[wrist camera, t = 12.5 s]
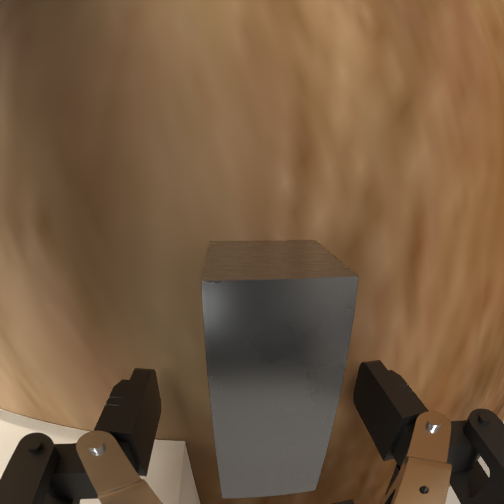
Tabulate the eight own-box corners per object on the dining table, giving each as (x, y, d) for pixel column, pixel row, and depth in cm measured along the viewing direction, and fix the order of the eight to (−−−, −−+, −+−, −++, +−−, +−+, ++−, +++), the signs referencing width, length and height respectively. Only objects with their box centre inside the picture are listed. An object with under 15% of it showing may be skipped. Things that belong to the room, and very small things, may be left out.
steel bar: (210, 240, 12) (201, 280, 8) (313, 239, 12) (358, 275, 8) (221, 429, 14) (222, 498, 10) (296, 425, 15) (315, 490, 10)
